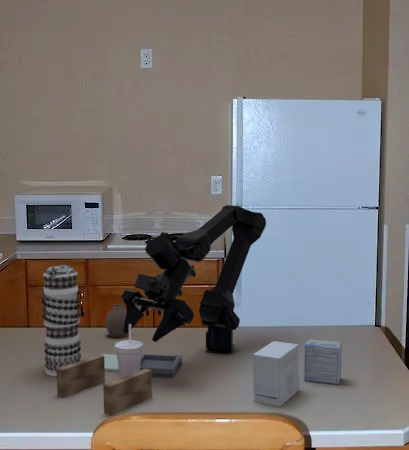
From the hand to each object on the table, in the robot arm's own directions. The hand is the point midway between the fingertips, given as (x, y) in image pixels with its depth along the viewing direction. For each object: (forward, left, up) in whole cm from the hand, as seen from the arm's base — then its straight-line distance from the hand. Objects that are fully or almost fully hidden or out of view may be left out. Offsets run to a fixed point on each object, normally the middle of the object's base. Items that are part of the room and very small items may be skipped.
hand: (138, 337), depth 145 cm
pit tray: (-2, -9, -11) cm, 14 cm away
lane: (+5, +9, -11) cm, 15 cm away
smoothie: (+1, +3, -11) cm, 11 cm away
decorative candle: (+20, -5, -11) cm, 23 cm away
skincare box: (-31, +3, -11) cm, 33 cm away
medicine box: (-41, -8, -11) cm, 43 cm away
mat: (+9, -11, -10) cm, 18 cm away
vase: (+15, -34, -11) cm, 39 cm away
